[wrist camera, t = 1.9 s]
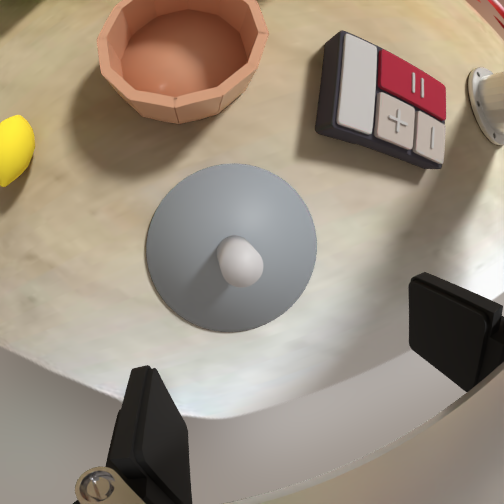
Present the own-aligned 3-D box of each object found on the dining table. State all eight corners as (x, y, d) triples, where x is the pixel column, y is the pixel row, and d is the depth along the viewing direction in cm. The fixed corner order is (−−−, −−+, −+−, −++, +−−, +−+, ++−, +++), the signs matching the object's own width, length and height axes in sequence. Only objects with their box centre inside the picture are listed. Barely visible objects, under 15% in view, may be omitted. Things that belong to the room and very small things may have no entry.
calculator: (447, 170, 26) (334, 125, 23) (421, 169, 30) (313, 133, 27) (449, 83, 24) (343, 25, 21) (426, 89, 28) (324, 41, 25)
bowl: (234, 0, 22) (243, -33, 16) (267, 105, 25) (285, 85, 19) (109, 29, 20) (93, 0, 15) (129, 141, 24) (110, 129, 18)
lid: (293, 147, 27) (316, 138, 21) (326, 299, 31) (351, 322, 25) (126, 193, 25) (108, 195, 19) (180, 345, 29) (178, 378, 23)
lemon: (12, 124, 21) (-13, 108, 16) (50, 122, 22) (27, 103, 17) (-2, 189, 21) (-32, 183, 16) (36, 191, 22) (7, 184, 17)
